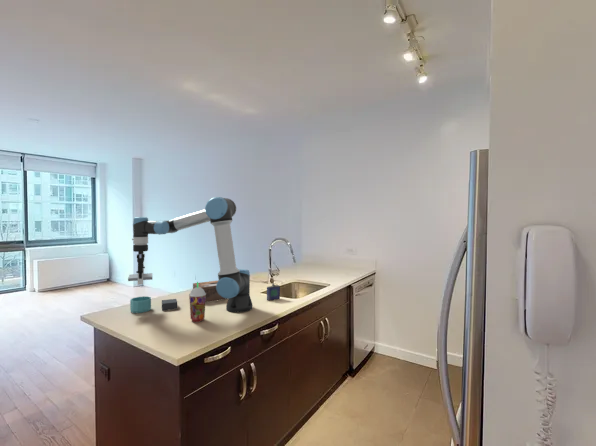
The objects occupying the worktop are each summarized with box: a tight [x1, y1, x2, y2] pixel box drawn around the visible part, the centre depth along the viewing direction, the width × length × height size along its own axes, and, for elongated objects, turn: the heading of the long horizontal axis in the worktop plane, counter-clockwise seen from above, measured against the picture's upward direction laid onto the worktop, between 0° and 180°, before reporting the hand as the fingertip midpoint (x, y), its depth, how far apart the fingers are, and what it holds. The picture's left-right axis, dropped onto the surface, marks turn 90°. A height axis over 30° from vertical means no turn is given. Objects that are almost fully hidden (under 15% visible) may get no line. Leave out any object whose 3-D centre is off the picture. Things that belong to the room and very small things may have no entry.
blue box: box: [266, 282, 281, 302], centre depth 200 cm, size 9×3×11 cm, turn 121°
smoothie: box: [188, 281, 207, 323], centre depth 160 cm, size 8×8×20 cm
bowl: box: [129, 296, 152, 314], centre depth 176 cm, size 10×10×6 cm
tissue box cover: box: [192, 279, 228, 303], centre depth 204 cm, size 26×14×10 cm, turn 125°
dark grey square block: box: [161, 298, 178, 312], centre depth 181 cm, size 8×8×4 cm
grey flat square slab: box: [127, 272, 153, 282], centre depth 176 cm, size 12×12×2 cm
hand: (140, 282), depth 176 cm, fingers closed on grey flat square slab, 12 cm apart
